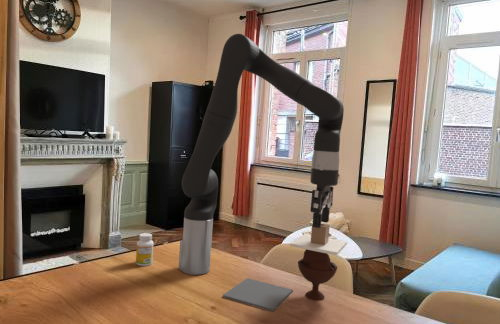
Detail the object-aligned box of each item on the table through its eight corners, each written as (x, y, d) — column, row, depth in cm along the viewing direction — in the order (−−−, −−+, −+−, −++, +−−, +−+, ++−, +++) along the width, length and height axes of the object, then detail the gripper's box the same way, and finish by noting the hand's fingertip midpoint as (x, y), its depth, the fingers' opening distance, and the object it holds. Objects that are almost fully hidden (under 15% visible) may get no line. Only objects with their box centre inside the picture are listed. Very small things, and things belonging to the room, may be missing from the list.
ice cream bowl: (335, 307, 100) (339, 253, 99) (293, 301, 102) (297, 247, 101) (334, 292, 110) (338, 242, 109) (296, 286, 112) (300, 238, 111)
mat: (222, 297, 101) (222, 294, 101) (247, 279, 115) (247, 278, 115) (273, 311, 95) (273, 309, 95) (292, 291, 108) (292, 289, 108)
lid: (289, 246, 102) (291, 225, 102) (304, 236, 114) (305, 217, 113) (336, 255, 96) (338, 233, 96) (347, 244, 108) (348, 224, 108)
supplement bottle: (140, 259, 126) (142, 231, 126) (155, 261, 125) (157, 233, 125) (132, 264, 121) (134, 235, 120) (148, 267, 120) (149, 237, 119)
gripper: (318, 165, 112) (314, 218, 113) (304, 167, 99) (300, 227, 100) (343, 167, 109) (339, 222, 109) (332, 169, 96) (327, 231, 97)
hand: (320, 224), depth 105 cm, fingers open, 8 cm apart
